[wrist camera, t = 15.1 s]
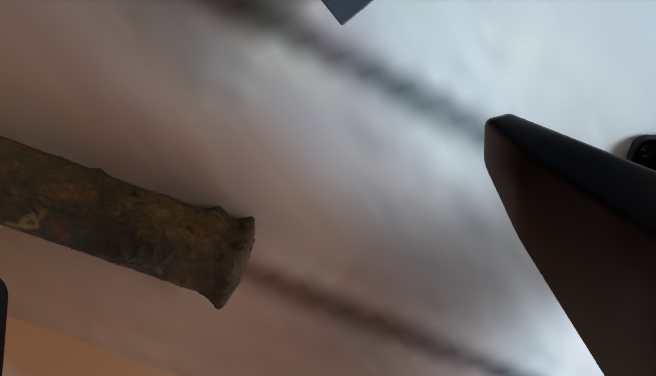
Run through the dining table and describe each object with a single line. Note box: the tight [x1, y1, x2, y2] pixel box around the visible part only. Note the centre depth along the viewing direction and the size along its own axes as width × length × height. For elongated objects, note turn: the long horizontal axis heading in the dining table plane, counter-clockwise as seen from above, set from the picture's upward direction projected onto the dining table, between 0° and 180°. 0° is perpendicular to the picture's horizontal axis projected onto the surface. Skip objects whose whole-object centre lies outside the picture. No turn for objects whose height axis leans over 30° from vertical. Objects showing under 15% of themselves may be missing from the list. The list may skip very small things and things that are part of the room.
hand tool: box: [0, 136, 255, 309], centre depth 21 cm, size 19×4×5 cm, turn 64°
